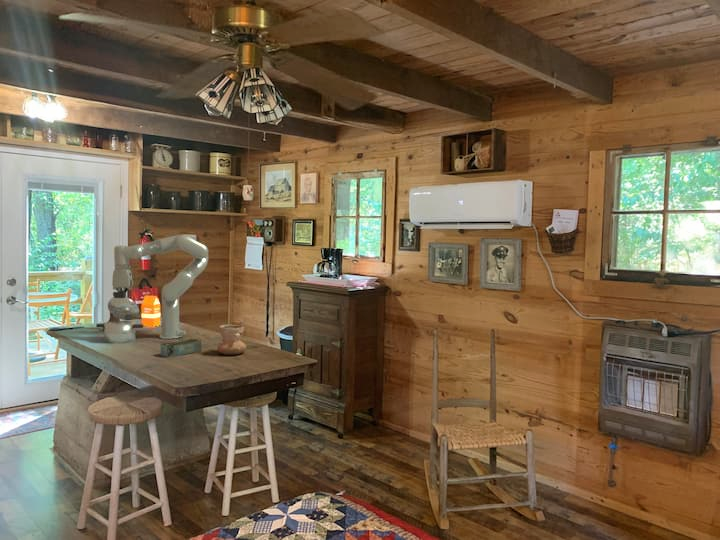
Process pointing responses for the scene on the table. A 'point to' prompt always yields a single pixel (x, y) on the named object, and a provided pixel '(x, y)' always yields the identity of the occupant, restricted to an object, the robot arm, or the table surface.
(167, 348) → the grey-green rectangular block
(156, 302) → the orange juice
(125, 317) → the lid
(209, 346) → the table surface
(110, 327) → the pot
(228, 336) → the ceramic jug
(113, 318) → the wooden block
